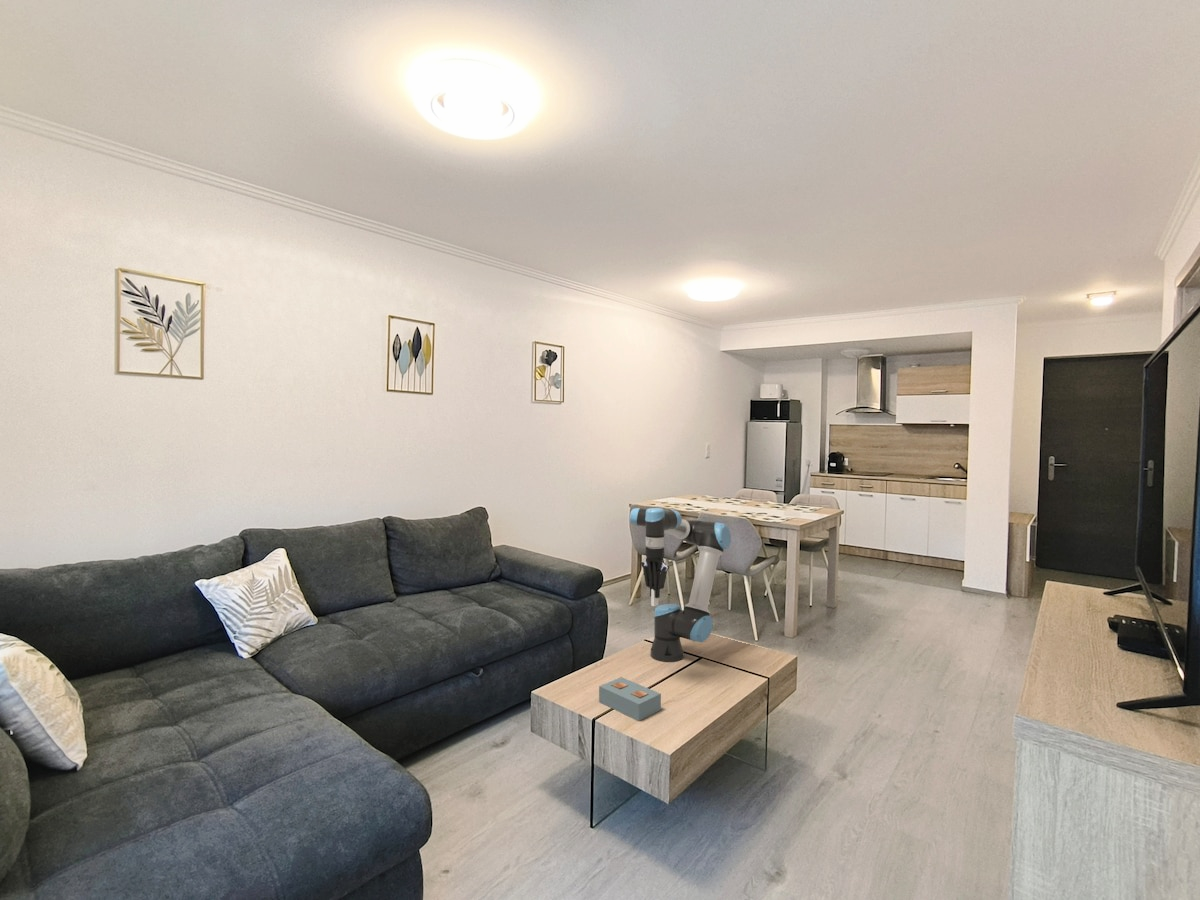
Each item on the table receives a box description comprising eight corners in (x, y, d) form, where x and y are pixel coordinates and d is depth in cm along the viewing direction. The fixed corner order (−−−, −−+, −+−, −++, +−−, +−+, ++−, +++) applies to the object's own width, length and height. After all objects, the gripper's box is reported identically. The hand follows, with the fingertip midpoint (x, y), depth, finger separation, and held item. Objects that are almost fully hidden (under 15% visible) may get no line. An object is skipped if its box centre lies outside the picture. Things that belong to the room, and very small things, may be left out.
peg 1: (619, 697, 214) (619, 681, 213) (627, 701, 211) (627, 685, 211) (612, 700, 211) (612, 685, 211) (619, 704, 208) (620, 688, 208)
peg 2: (639, 706, 206) (639, 690, 206) (647, 710, 203) (647, 693, 203) (631, 710, 204) (631, 693, 204) (640, 714, 201) (640, 697, 201)
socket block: (621, 692, 218) (621, 677, 218) (660, 710, 204) (660, 693, 204) (599, 702, 210) (599, 686, 210) (638, 721, 196) (638, 704, 196)
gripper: (636, 546, 227) (636, 603, 227) (661, 550, 218) (661, 610, 218) (648, 543, 232) (648, 600, 233) (673, 547, 223) (673, 606, 223)
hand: (654, 605), depth 225 cm, fingers closed
